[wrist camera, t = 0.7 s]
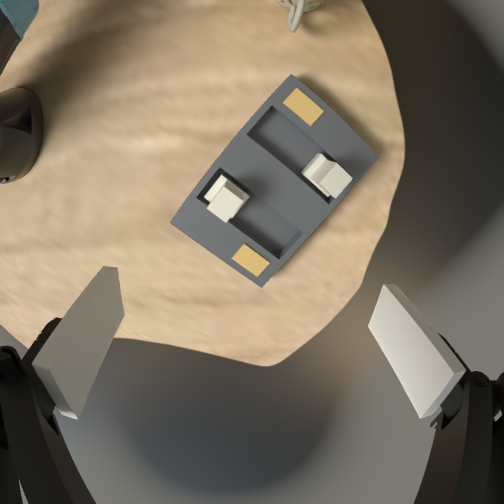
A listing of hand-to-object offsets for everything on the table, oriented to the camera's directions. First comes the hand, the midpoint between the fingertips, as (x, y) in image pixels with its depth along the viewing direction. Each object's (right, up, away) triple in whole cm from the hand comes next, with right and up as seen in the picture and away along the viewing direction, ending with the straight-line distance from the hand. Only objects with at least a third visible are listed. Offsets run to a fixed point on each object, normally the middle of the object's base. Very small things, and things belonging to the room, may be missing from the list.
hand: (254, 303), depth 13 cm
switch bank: (+3, +11, +20) cm, 23 cm away
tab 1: (-3, +9, +19) cm, 22 cm away
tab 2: (+8, +12, +19) cm, 23 cm away
